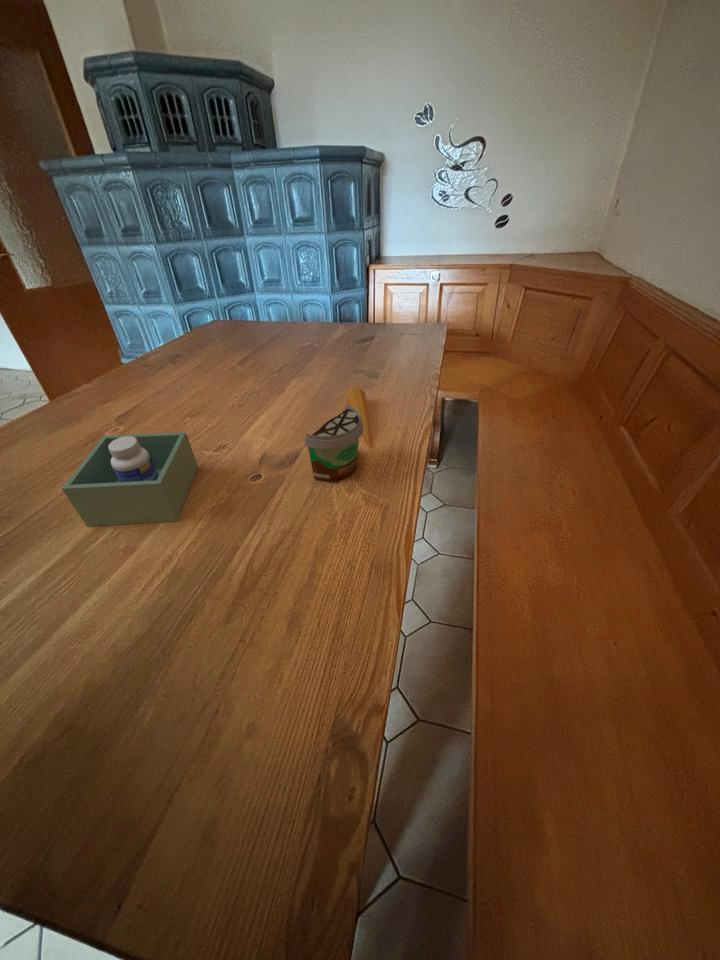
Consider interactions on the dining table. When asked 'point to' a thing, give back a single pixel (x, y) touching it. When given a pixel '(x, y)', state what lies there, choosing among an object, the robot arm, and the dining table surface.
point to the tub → (134, 483)
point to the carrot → (360, 409)
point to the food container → (335, 446)
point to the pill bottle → (131, 461)
